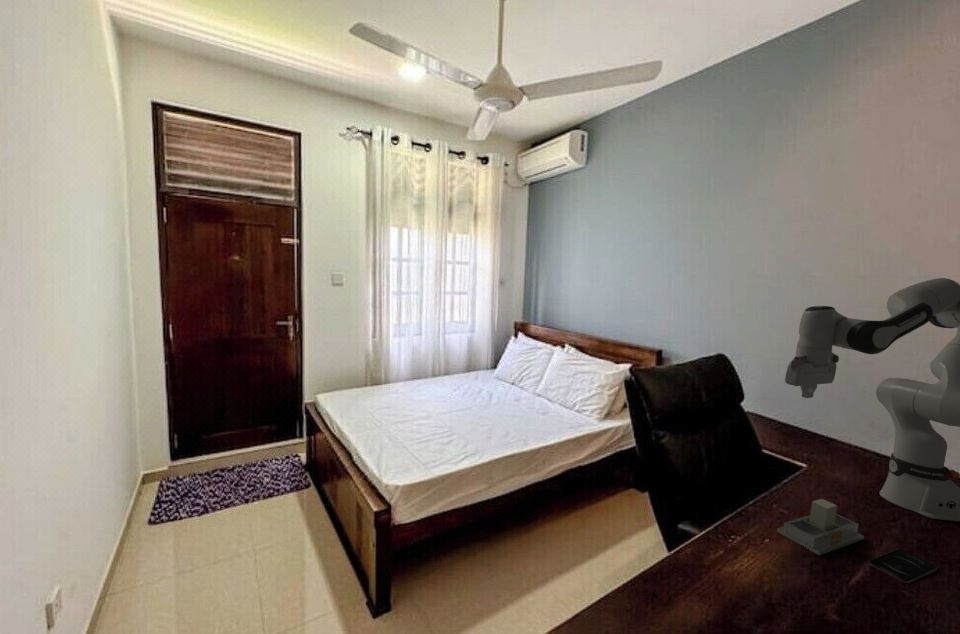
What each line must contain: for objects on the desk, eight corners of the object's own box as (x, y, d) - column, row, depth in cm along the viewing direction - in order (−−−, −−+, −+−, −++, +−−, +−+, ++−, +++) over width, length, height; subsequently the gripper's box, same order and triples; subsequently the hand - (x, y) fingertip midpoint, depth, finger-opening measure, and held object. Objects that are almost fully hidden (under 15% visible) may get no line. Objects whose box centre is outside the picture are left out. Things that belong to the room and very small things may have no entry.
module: (818, 526, 112) (822, 498, 112) (833, 533, 109) (837, 505, 108) (808, 529, 111) (812, 501, 110) (823, 537, 107) (827, 508, 107)
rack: (820, 518, 118) (822, 506, 118) (863, 539, 109) (865, 527, 109) (776, 531, 111) (778, 519, 110) (819, 555, 102) (821, 542, 101)
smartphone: (866, 561, 100) (899, 548, 106) (866, 564, 100) (898, 551, 106) (907, 583, 93) (939, 567, 99) (906, 586, 93) (939, 570, 99)
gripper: (804, 358, 125) (798, 402, 126) (842, 357, 133) (836, 398, 134) (782, 354, 130) (776, 396, 132) (820, 353, 138) (814, 392, 140)
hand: (807, 397), depth 133 cm, fingers closed
